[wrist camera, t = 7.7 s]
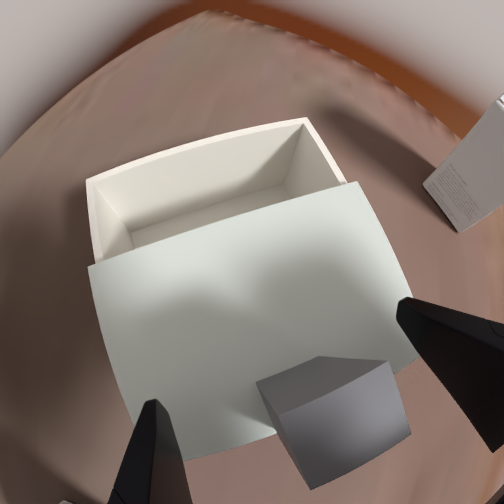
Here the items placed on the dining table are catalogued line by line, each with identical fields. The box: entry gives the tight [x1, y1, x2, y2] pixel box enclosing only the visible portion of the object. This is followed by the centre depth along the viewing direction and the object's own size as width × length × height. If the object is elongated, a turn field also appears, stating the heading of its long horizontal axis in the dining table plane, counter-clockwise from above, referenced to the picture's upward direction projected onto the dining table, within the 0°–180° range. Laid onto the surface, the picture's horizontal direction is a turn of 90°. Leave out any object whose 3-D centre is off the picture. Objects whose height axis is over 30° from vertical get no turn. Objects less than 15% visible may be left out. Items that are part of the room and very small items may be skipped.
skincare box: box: [423, 93, 504, 233], centre depth 16 cm, size 6×4×12 cm
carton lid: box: [88, 181, 420, 490], centre depth 8 cm, size 8×12×5 cm
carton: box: [86, 117, 348, 263], centre depth 15 cm, size 8×12×7 cm, turn 111°
